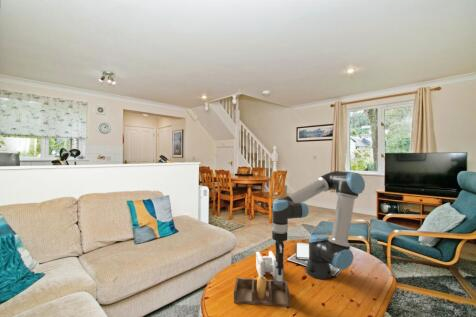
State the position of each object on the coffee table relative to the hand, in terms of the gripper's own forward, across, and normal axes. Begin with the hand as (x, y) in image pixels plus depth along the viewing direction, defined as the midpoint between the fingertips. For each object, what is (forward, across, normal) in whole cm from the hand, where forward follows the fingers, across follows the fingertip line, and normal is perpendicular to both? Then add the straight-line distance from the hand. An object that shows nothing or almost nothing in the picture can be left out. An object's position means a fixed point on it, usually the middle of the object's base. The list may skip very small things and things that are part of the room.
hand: (278, 277), depth 110 cm
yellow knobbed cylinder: (+10, 0, -9) cm, 13 cm away
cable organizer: (+11, -25, -6) cm, 28 cm away
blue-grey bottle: (+2, 0, 0) cm, 2 cm away
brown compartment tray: (+11, -2, -8) cm, 14 cm away
